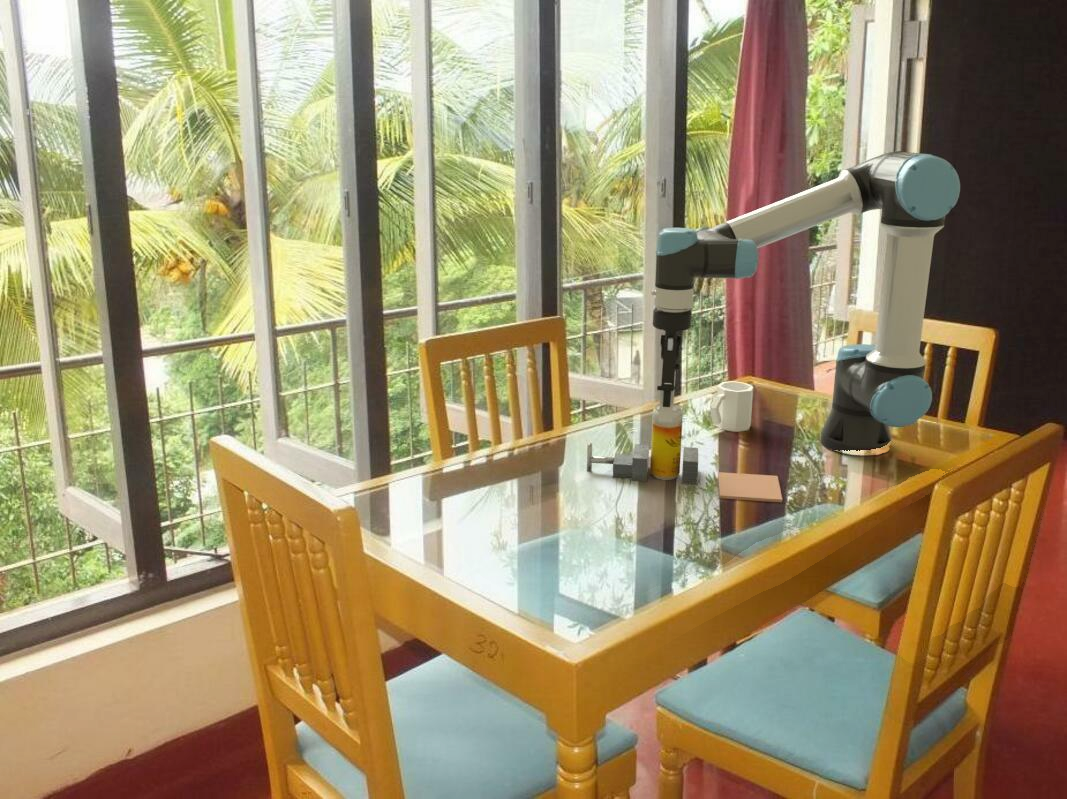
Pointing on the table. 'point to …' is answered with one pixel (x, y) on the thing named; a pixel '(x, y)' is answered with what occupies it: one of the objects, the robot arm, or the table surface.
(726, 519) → the table surface
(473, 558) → the table surface
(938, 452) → the table surface
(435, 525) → the table surface
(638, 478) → the vise
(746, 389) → the mug
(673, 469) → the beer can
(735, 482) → the coaster
